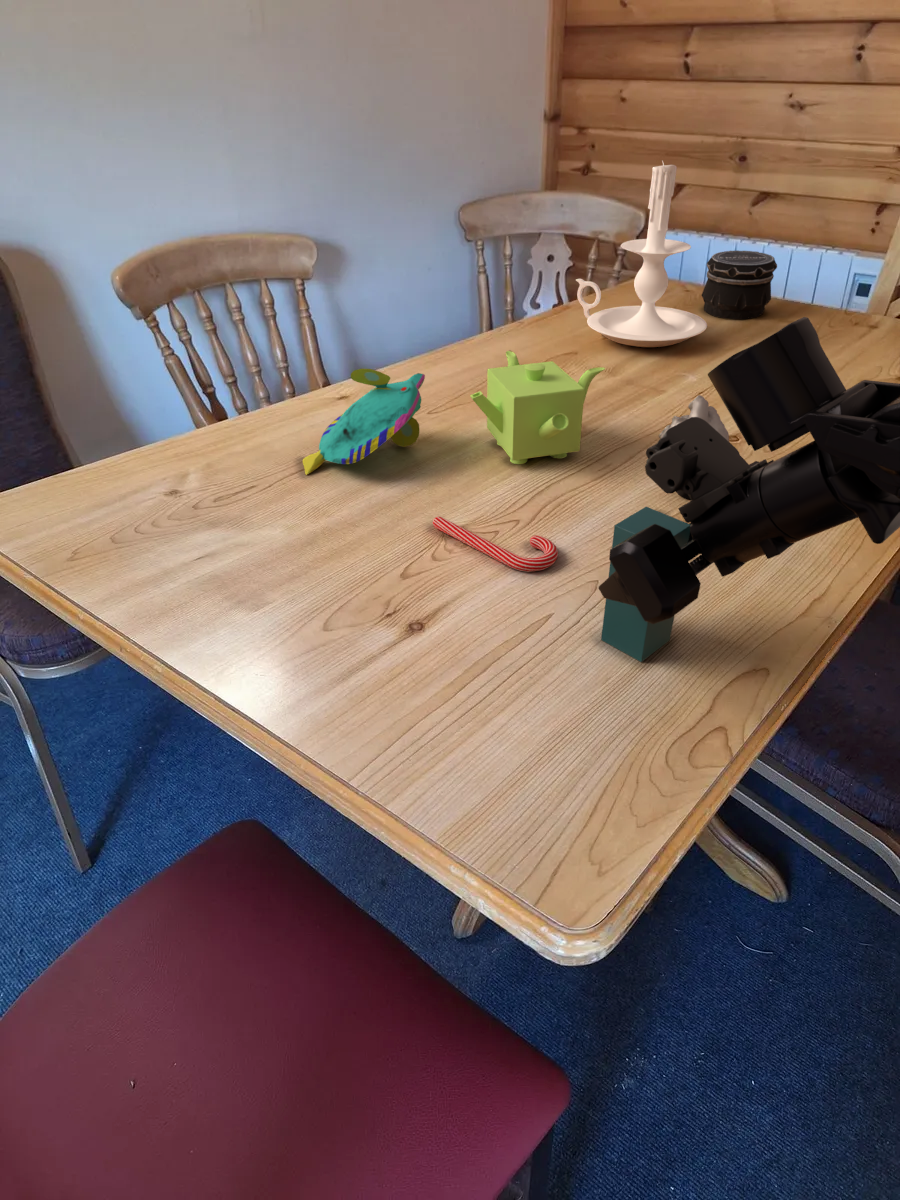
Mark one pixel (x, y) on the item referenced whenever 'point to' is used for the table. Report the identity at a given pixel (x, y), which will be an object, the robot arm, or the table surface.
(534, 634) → the table surface
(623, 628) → the block
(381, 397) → the decorative fish
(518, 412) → the kettle
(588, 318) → the candlestick
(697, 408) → the heart
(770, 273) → the container
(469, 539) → the candy cane
